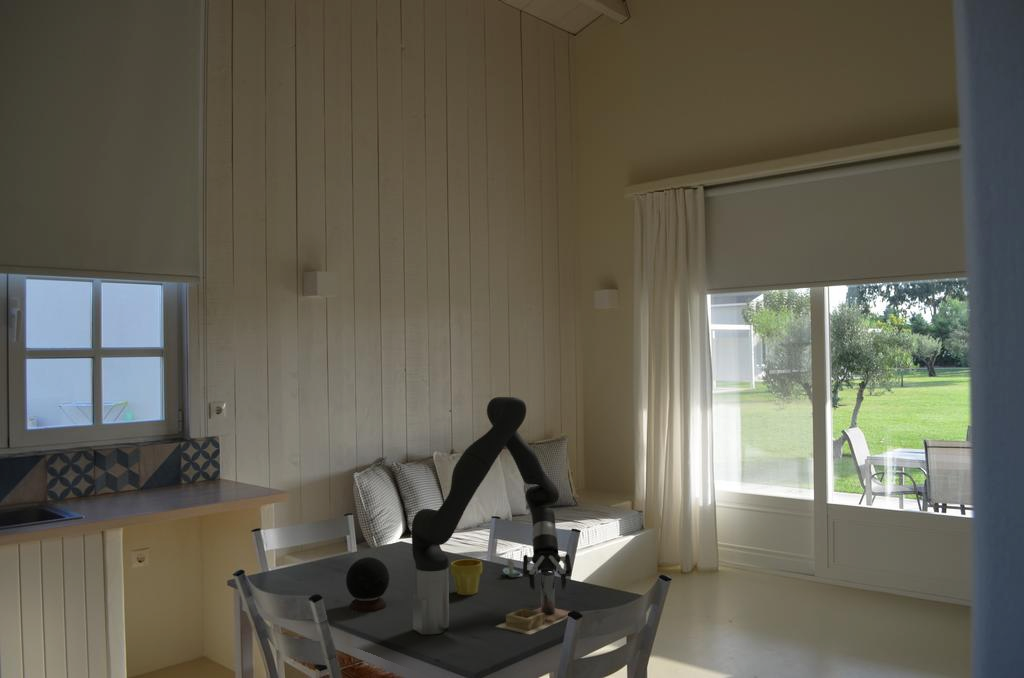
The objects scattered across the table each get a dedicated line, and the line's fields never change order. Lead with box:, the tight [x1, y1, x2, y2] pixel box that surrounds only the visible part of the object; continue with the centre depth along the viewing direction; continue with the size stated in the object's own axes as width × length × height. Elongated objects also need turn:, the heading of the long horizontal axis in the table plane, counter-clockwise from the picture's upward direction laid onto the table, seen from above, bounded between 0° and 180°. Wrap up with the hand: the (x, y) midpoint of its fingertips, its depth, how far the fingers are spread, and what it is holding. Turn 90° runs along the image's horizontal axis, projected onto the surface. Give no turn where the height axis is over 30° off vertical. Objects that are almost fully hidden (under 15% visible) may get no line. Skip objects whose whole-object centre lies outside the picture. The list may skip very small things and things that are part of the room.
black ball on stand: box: [345, 556, 390, 613], centre depth 249 cm, size 13×13×15 cm
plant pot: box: [450, 558, 483, 596], centre depth 263 cm, size 10×10×10 cm
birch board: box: [495, 607, 571, 635], centre depth 230 cm, size 23×12×4 cm, turn 142°
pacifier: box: [502, 558, 523, 578], centre depth 284 cm, size 7×6×6 cm
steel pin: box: [540, 570, 556, 615], centre depth 234 cm, size 4×4×12 cm
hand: (548, 588), depth 233 cm, fingers open, 8 cm apart
